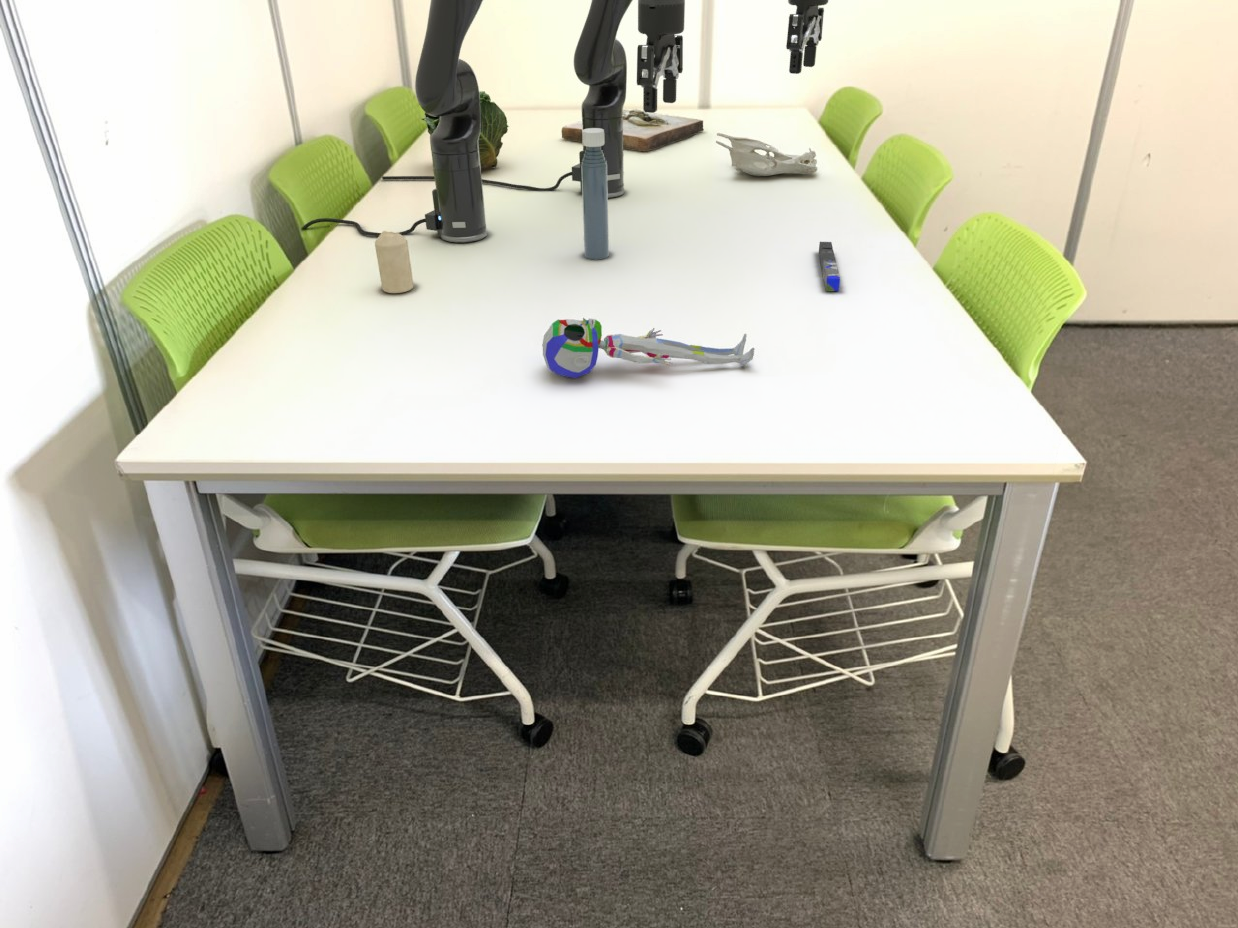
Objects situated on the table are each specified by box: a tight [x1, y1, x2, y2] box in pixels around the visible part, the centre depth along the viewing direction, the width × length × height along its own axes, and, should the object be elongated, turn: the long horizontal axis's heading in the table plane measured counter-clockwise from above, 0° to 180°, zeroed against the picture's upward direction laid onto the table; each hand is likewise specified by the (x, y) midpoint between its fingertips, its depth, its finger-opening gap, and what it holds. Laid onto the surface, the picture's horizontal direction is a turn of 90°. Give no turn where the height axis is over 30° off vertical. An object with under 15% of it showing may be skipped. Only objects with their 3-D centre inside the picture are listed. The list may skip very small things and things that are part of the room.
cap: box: [582, 128, 605, 147], centre depth 161 cm, size 4×4×2 cm
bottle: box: [581, 146, 610, 261], centre depth 167 cm, size 5×5×23 cm
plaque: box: [561, 108, 705, 152], centre depth 257 cm, size 30×7×30 cm
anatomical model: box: [715, 132, 818, 177], centre depth 219 cm, size 15×9×25 cm
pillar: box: [818, 241, 841, 292], centre depth 163 cm, size 2×2×20 cm
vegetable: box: [420, 90, 510, 169], centre depth 225 cm, size 20×19×20 cm
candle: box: [374, 230, 414, 294], centre depth 157 cm, size 6×6×10 cm
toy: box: [541, 317, 755, 379], centre depth 130 cm, size 10×8×30 cm
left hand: (660, 107), depth 152 cm, fingers open, 8 cm apart
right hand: (802, 70), depth 176 cm, fingers open, 8 cm apart
